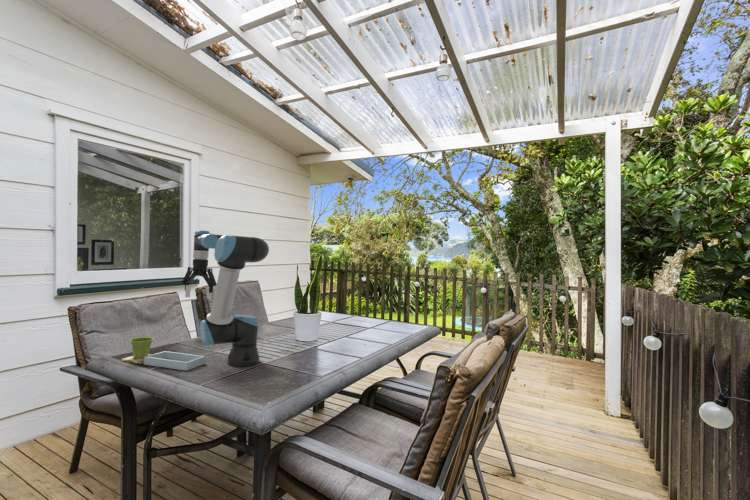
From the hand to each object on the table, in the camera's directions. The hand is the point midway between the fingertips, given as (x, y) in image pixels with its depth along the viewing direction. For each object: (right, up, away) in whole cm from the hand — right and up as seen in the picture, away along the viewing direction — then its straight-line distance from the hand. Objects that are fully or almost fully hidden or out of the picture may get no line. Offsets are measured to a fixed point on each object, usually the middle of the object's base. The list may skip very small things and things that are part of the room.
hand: (198, 298), depth 200 cm
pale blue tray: (+1, -28, -25) cm, 38 cm away
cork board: (-18, -27, -20) cm, 38 cm away
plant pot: (-18, -27, -20) cm, 38 cm away
